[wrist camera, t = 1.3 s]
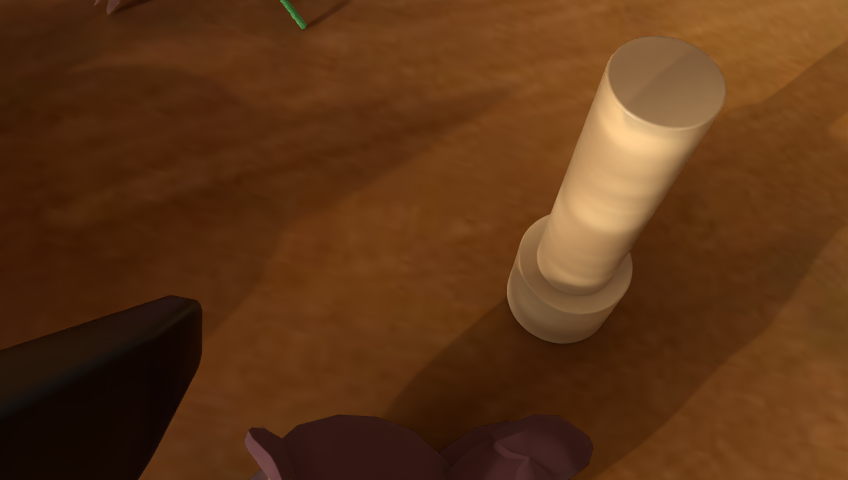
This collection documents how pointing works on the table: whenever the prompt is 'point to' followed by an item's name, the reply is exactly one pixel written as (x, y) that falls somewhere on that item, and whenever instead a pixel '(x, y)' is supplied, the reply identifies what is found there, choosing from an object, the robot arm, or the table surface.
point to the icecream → (420, 451)
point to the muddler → (614, 186)
